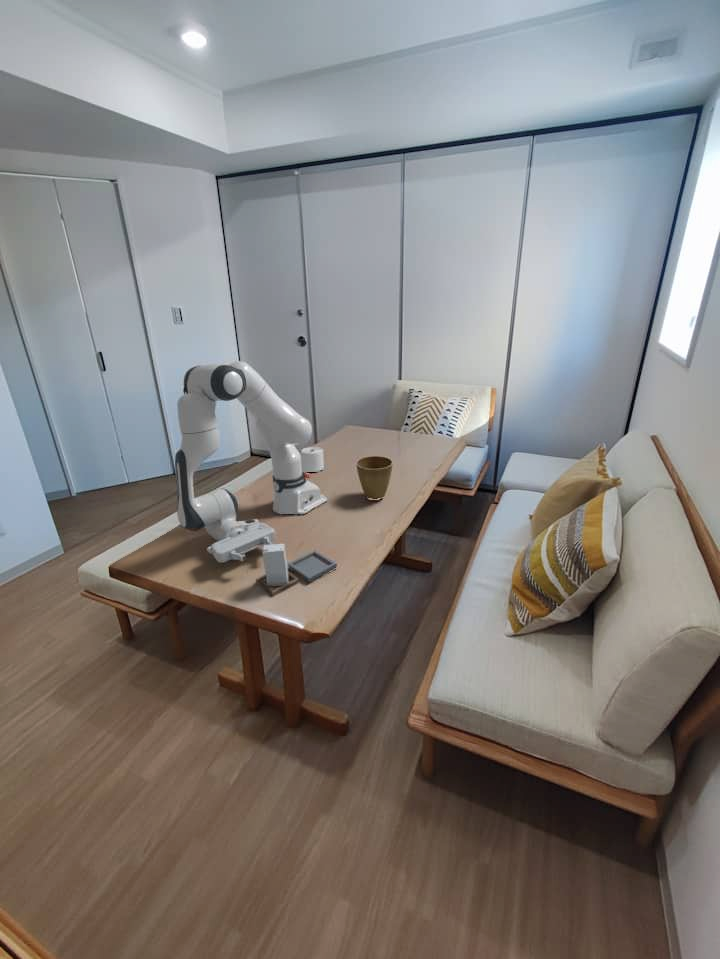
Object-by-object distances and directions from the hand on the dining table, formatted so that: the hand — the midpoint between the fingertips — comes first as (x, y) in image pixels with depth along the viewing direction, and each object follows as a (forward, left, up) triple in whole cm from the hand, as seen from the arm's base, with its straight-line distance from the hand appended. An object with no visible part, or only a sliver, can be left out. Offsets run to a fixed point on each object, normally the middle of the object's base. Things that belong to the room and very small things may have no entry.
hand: (257, 552), depth 129 cm
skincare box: (0, +10, -6) cm, 12 cm away
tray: (-12, +12, -6) cm, 18 cm away
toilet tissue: (-64, -54, -6) cm, 84 cm away
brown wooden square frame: (0, +10, -6) cm, 11 cm away
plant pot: (-62, -10, -6) cm, 63 cm away
